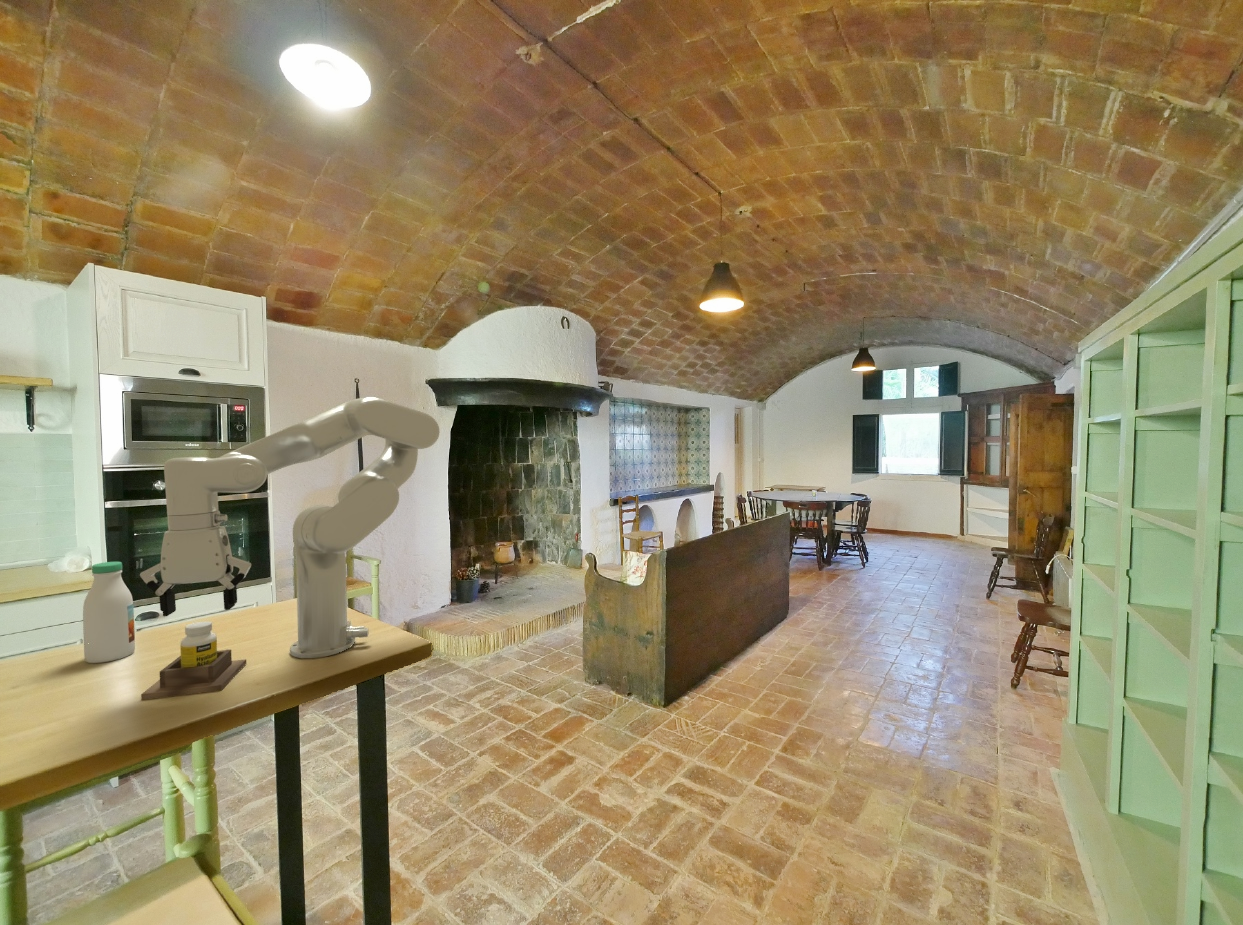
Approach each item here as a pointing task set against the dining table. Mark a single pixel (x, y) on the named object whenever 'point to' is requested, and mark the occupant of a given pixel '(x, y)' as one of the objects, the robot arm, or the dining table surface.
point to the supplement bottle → (198, 645)
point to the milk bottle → (108, 616)
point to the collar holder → (195, 677)
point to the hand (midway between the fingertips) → (200, 610)
